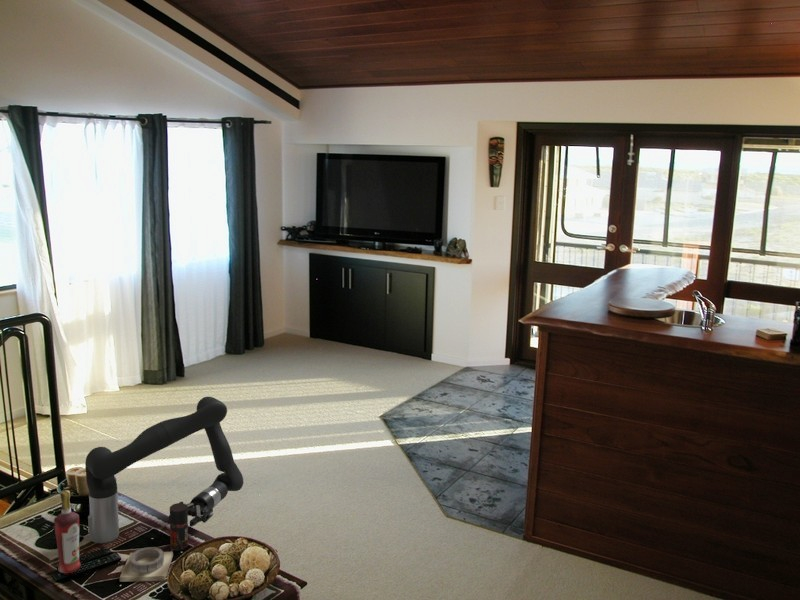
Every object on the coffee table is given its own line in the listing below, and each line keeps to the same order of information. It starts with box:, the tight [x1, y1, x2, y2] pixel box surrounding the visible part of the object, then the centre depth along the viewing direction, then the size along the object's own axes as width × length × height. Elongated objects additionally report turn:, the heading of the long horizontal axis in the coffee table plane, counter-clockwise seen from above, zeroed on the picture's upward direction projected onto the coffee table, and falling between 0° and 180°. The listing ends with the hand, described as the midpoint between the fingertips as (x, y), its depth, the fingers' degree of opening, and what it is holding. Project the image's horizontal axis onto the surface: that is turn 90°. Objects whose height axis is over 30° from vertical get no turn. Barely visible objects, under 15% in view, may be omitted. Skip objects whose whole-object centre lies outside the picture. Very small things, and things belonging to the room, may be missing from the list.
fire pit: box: [119, 546, 174, 583], centre depth 231 cm, size 14×14×5 cm
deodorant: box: [169, 502, 189, 552], centre depth 243 cm, size 6×6×15 cm
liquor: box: [53, 489, 82, 575], centre depth 225 cm, size 7×7×28 cm
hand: (180, 521), depth 244 cm, fingers open, 8 cm apart
